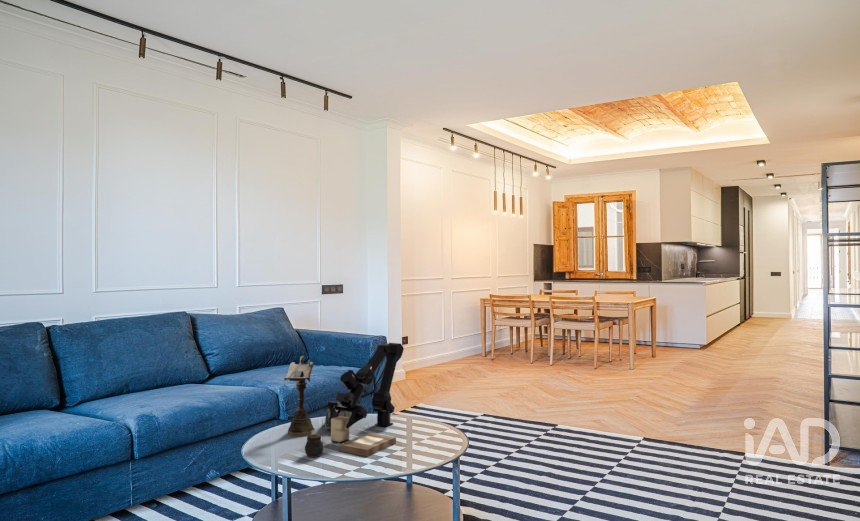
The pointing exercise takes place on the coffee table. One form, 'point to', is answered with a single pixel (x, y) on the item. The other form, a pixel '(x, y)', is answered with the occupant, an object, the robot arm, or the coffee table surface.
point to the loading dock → (368, 444)
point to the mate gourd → (313, 445)
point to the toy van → (342, 413)
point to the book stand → (300, 398)
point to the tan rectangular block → (339, 429)
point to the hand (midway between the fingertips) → (338, 426)
